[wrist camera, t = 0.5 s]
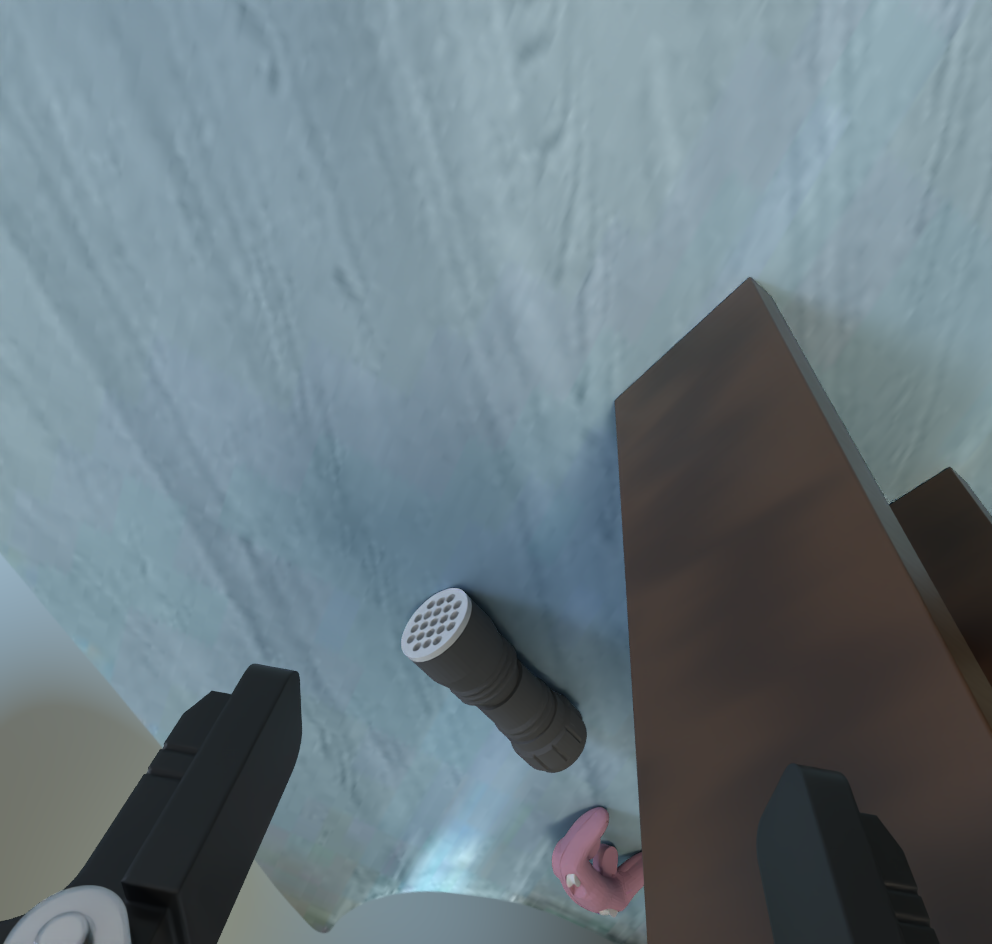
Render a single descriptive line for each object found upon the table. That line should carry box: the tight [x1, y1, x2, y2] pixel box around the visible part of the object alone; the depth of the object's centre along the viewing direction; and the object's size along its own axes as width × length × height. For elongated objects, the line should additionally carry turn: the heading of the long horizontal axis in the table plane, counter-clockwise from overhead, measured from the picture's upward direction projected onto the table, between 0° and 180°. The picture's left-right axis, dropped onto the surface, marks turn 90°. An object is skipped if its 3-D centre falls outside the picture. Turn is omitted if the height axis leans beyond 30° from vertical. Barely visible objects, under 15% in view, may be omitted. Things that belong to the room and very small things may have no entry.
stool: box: [615, 277, 992, 944], centre depth 24 cm, size 11×18×32 cm, turn 52°
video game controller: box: [552, 807, 644, 917], centre depth 61 cm, size 10×5×7 cm, turn 35°
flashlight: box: [401, 588, 587, 773], centre depth 48 cm, size 15×5×5 cm, turn 36°
